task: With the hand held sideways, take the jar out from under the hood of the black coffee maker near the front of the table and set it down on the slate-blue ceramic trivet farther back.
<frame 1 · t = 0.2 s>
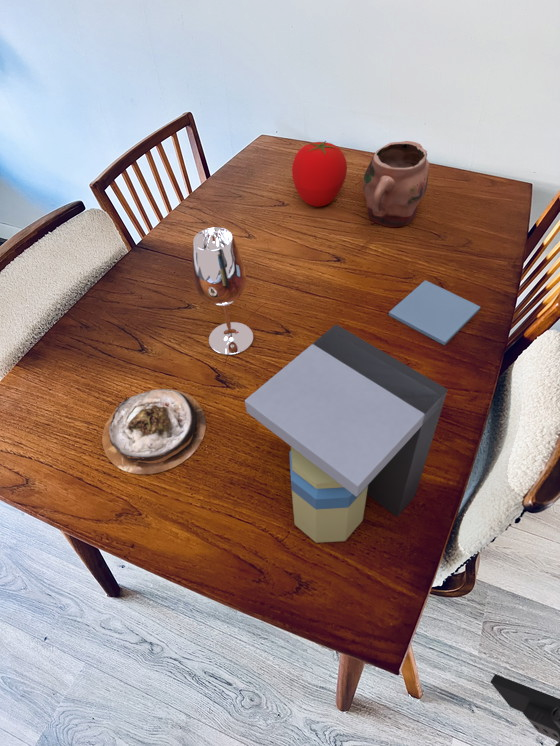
hand: (541, 623, 45), 13 cm above the table, tool tilted 35°, fingers open, 13 cm apart
tomato: (318, 202, 113), on the table
pink ceramic mug: (390, 220, 107), on the table
trivet: (433, 312, 89), on the table
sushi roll: (155, 430, 76), on the table
jar: (327, 512, 66), on the table
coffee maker: (327, 511, 66), on the table
wineglass: (231, 339, 87), on the table
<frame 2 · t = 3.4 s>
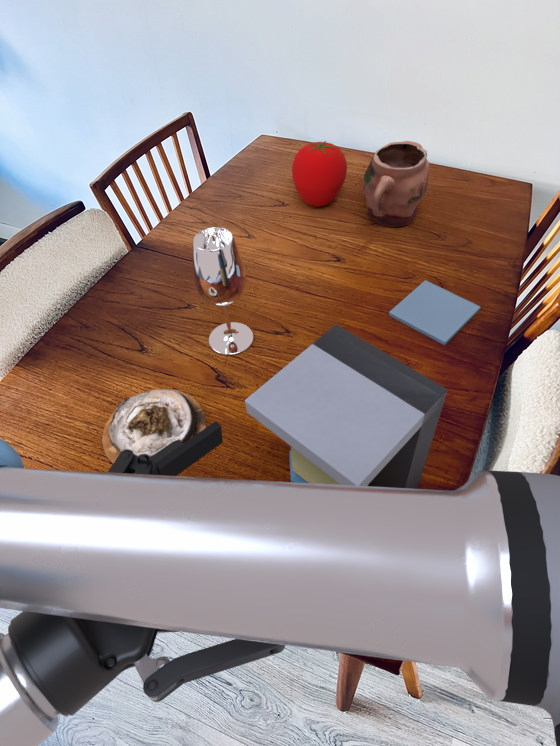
hand: (269, 481, 44), 22 cm above the table, tool horizontal, fingers open, 13 cm apart
nothing on the table moved.
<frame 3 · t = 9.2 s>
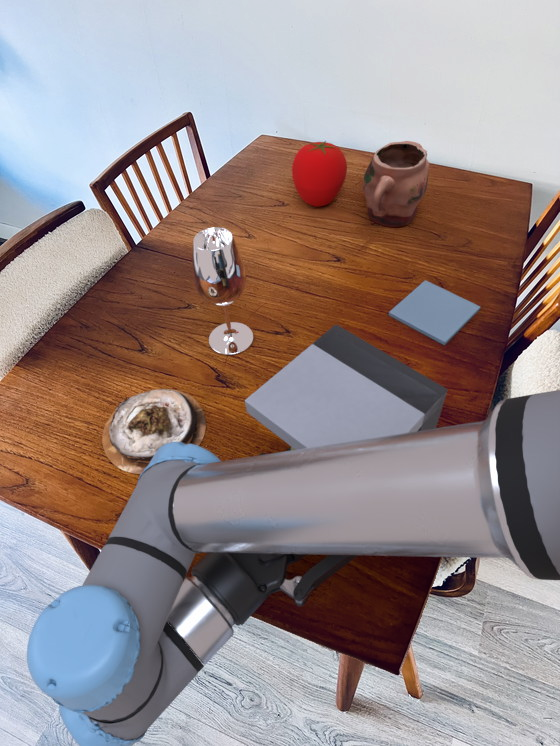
hand: (353, 455, 62), 8 cm above the table, tool horizontal, fingers closed on jar, 8 cm apart
jar: (327, 512, 66), on the table, touching gripper
everything else where it was.
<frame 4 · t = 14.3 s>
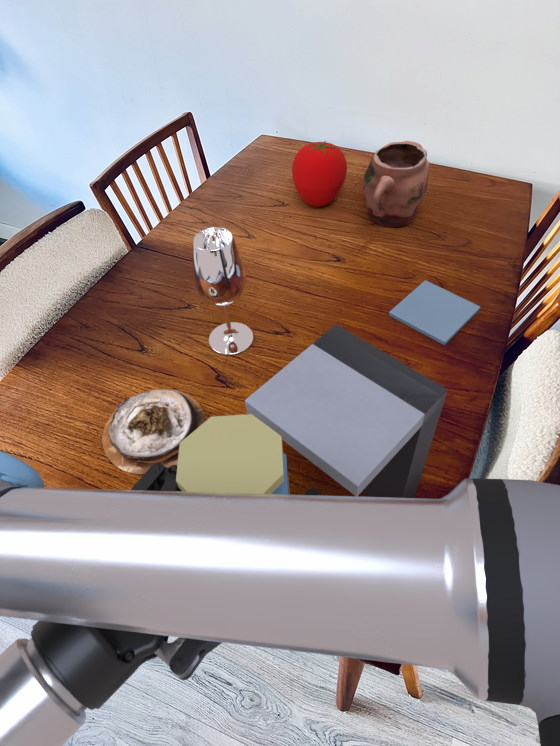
hand: (277, 465, 47), 21 cm above the table, tool horizontal, fingers closed on jar, 8 cm apart
jar: (250, 538, 51), point 13 cm above the table, touching gripper
everything else where it was.
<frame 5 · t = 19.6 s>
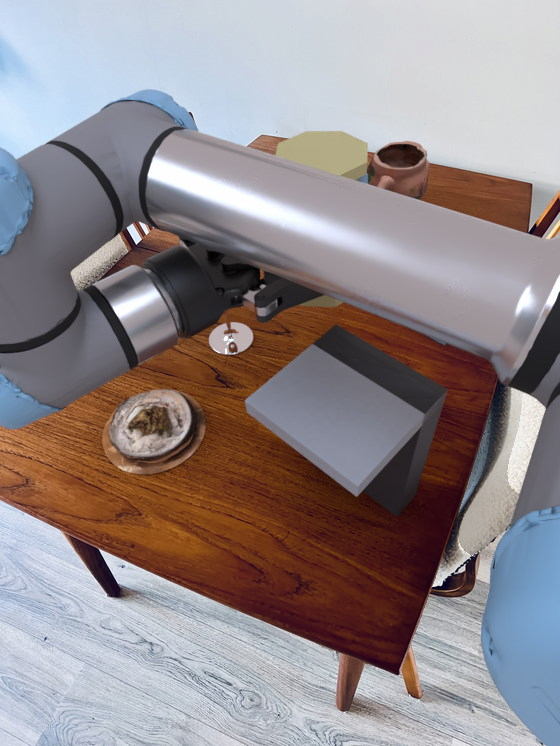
hand: (356, 204, 52), 33 cm above the table, tool horizontal, fingers closed on jar, 8 cm apart
jar: (320, 286, 57), point 25 cm above the table, touching gripper
everything else where it was.
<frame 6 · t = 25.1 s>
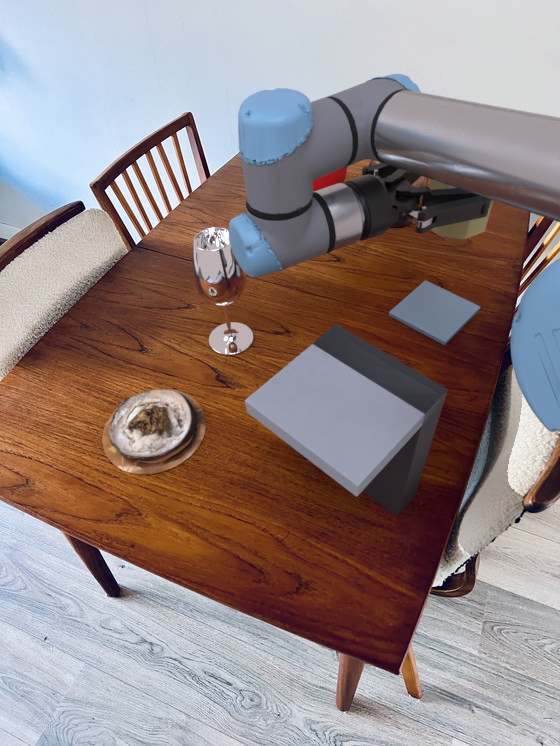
hand: (493, 164, 71), 25 cm above the table, tool horizontal, fingers closed on jar, 8 cm apart
jar: (453, 226, 76), point 17 cm above the table, touching gripper
everything else where it was.
when the fingers open (9 cm above the table, at t = 29.9 s): jar stays where it is, resting on trivet.
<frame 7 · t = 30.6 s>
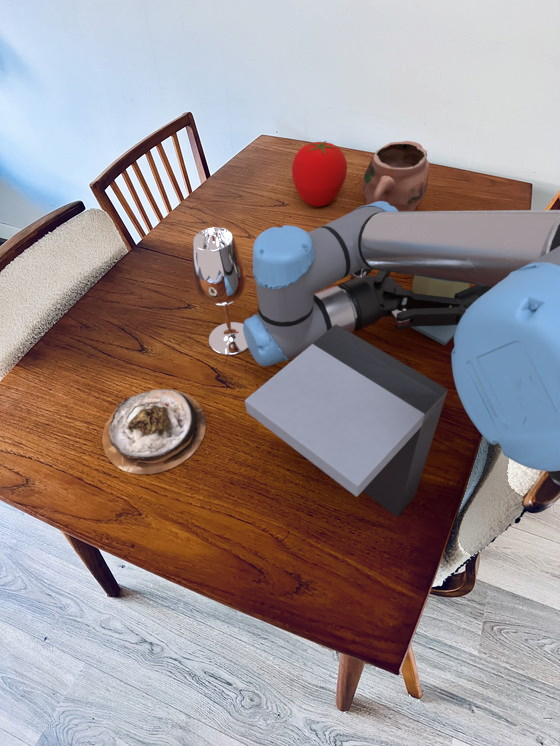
hand: (460, 263, 82), 9 cm above the table, tool horizontal, fingers open, 13 cm apart
jar: (434, 310, 88), point 1 cm above the table, touching trivet
everything else where it was.
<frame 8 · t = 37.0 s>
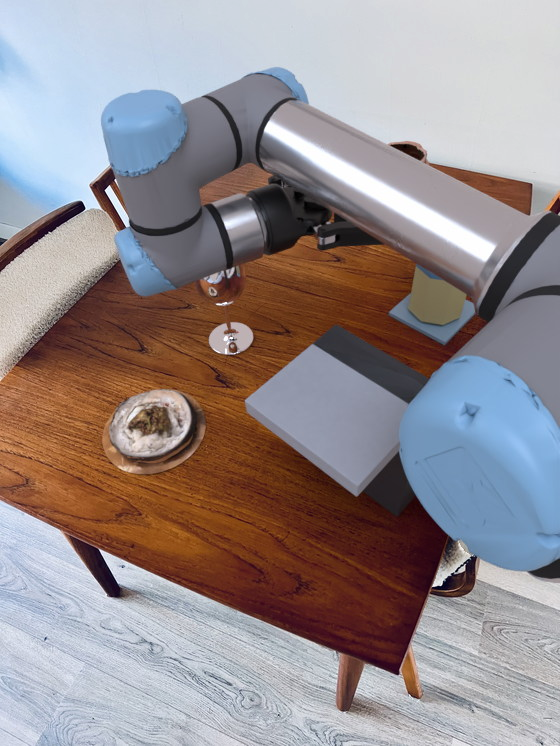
hand: (408, 174, 65), 28 cm above the table, tool horizontal, fingers open, 13 cm apart
nothing on the table moved.
at the end: jar inside the target area on the trivet (0.0 cm from its centre), point 0.6 cm above the trivet's base; jar tilted 0°; jar moved 41.2 cm from its start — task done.
